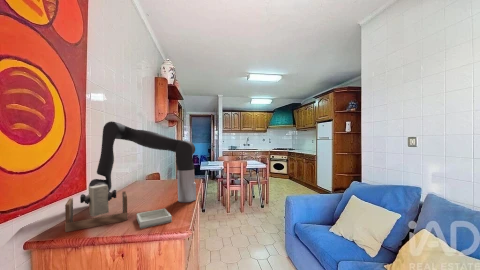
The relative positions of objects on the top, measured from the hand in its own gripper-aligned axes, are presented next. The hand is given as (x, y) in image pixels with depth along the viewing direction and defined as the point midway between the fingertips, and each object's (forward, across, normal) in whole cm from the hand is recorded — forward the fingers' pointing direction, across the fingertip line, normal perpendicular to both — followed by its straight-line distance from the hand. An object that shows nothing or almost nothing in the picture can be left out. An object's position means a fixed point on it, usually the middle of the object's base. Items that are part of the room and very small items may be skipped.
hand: (98, 200), depth 92 cm
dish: (+11, +20, +10) cm, 25 cm away
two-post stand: (-2, 0, +10) cm, 10 cm away
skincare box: (-2, 0, +7) cm, 7 cm away
